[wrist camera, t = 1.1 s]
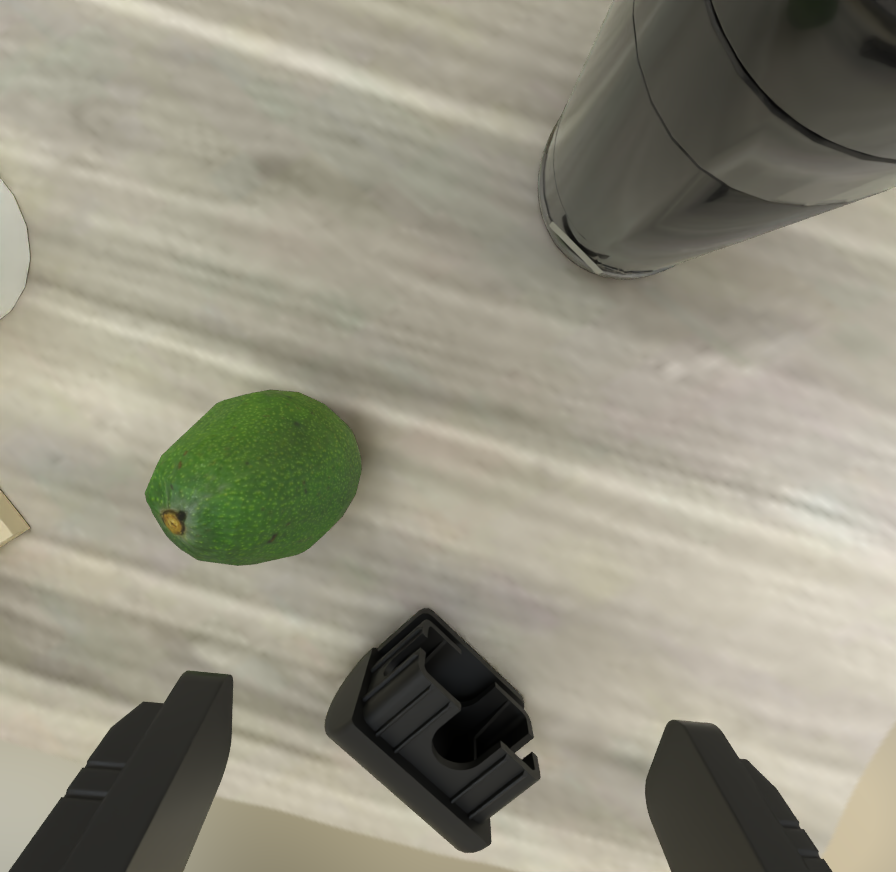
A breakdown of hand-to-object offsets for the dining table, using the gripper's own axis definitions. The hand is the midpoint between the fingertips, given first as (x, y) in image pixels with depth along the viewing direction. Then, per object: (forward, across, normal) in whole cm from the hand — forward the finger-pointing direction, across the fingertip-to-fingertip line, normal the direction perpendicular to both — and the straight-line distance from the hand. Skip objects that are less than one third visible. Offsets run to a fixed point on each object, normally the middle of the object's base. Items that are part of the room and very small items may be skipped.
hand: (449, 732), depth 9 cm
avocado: (+20, +7, +3) cm, 22 cm away
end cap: (+18, -2, +17) cm, 25 cm away
